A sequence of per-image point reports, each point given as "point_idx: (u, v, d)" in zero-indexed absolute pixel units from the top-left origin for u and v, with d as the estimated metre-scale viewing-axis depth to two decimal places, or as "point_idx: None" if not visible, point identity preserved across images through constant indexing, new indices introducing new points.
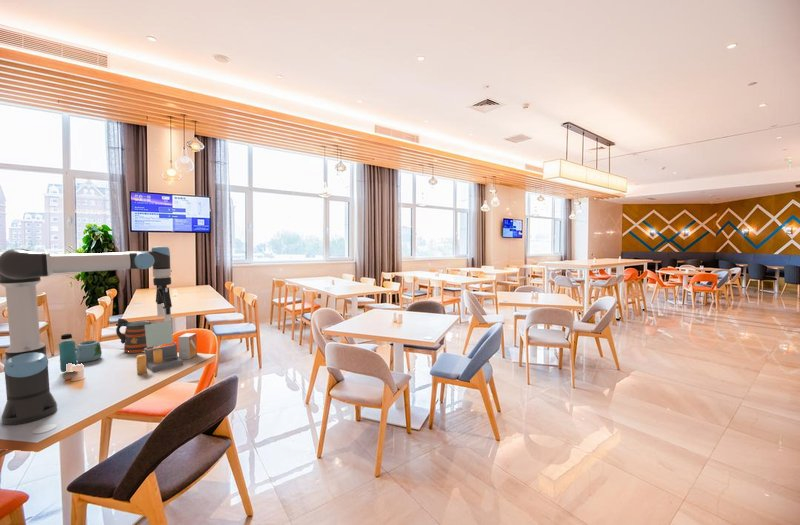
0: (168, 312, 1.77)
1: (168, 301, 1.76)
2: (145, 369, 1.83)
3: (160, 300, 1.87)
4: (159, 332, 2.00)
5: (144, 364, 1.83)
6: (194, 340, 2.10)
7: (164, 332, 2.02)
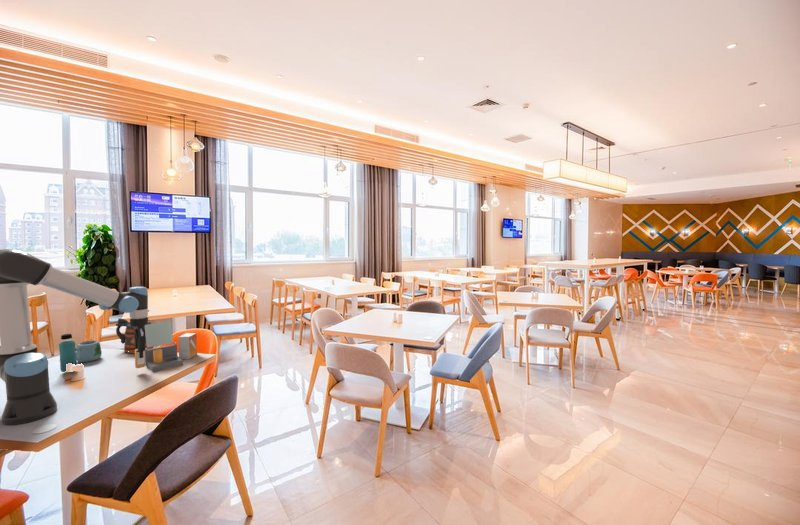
0: (141, 356, 1.81)
1: (142, 346, 1.79)
2: None
3: None
4: (159, 332, 2.00)
5: None
6: (194, 340, 2.10)
7: (164, 332, 2.02)
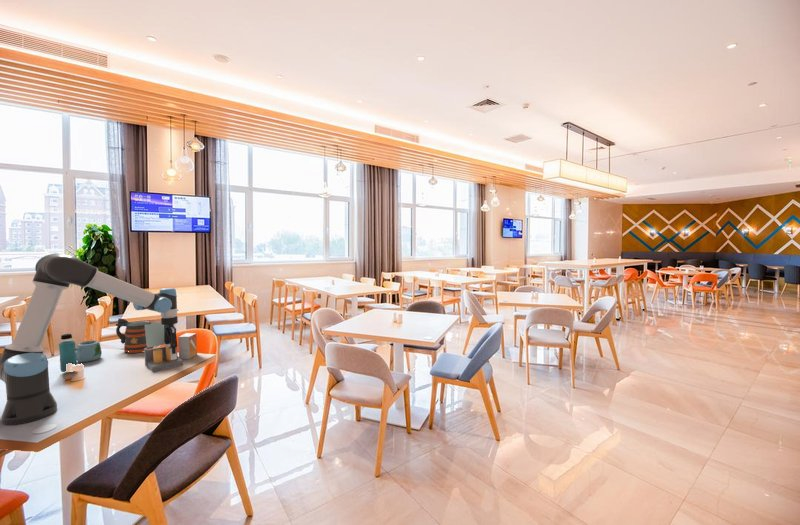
0: (174, 352, 1.92)
1: (174, 342, 1.90)
2: None
3: (168, 339, 1.98)
4: (159, 332, 2.00)
5: None
6: (194, 340, 2.10)
7: None
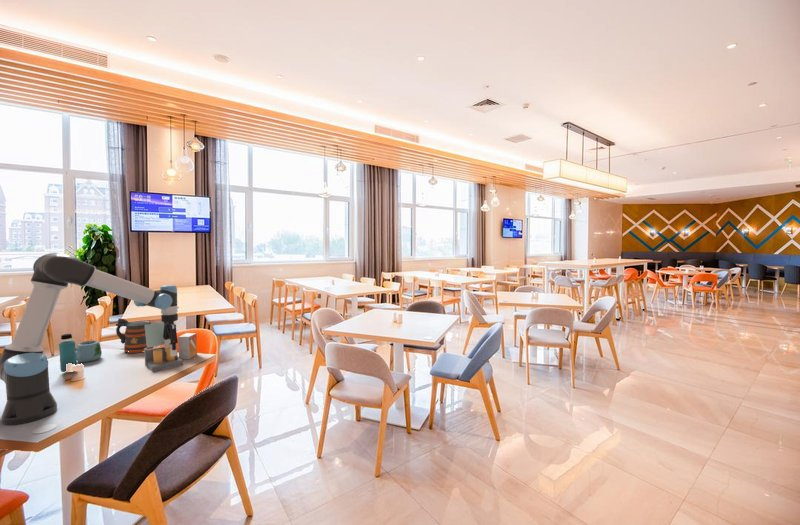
0: (174, 348, 1.90)
1: (174, 338, 1.89)
2: None
3: (167, 335, 1.99)
4: (159, 332, 2.00)
5: (173, 356, 1.96)
6: (194, 340, 2.10)
7: None
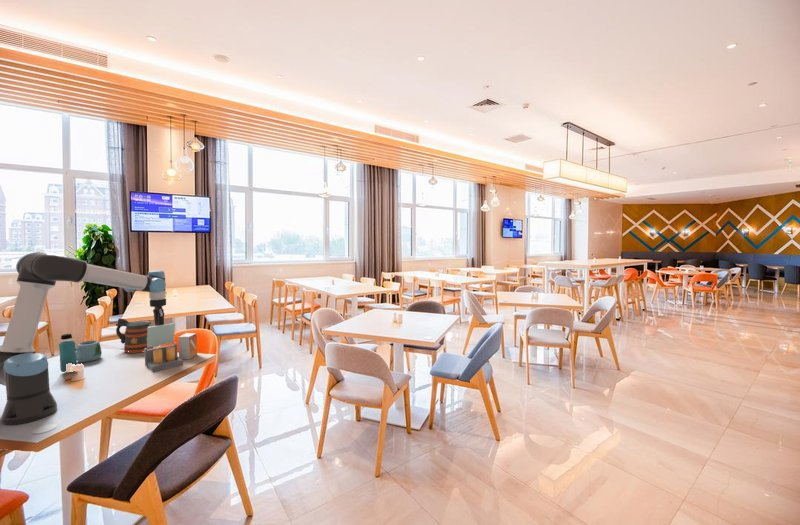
0: None
1: (161, 324, 1.96)
2: None
3: None
4: (161, 334, 1.97)
5: (173, 356, 1.96)
6: (194, 340, 2.10)
7: (166, 334, 1.99)
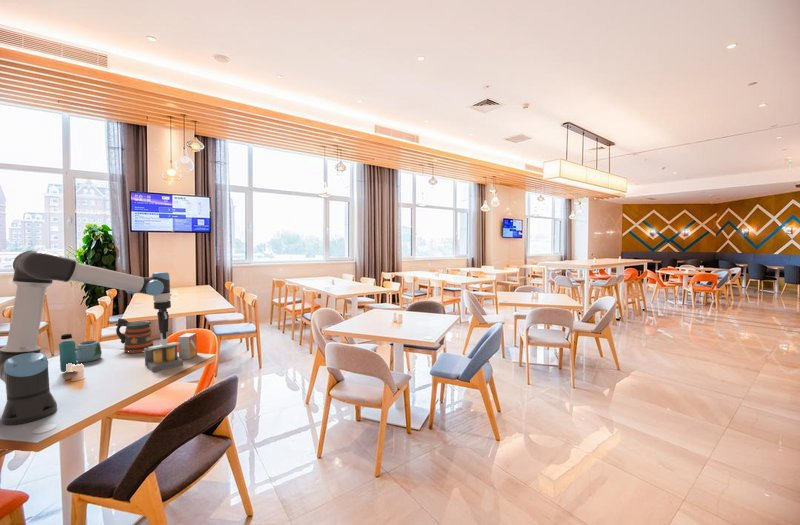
0: (165, 337, 1.92)
1: (165, 327, 1.90)
2: None
3: None
4: None
5: (173, 356, 1.96)
6: (194, 340, 2.10)
7: None
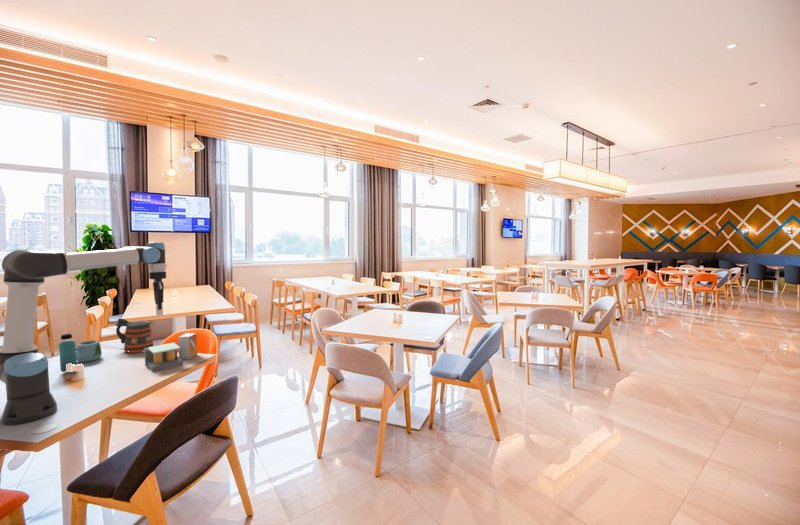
0: (160, 307, 1.91)
1: (160, 298, 1.88)
2: None
3: None
4: None
5: (173, 356, 1.96)
6: (194, 340, 2.10)
7: None
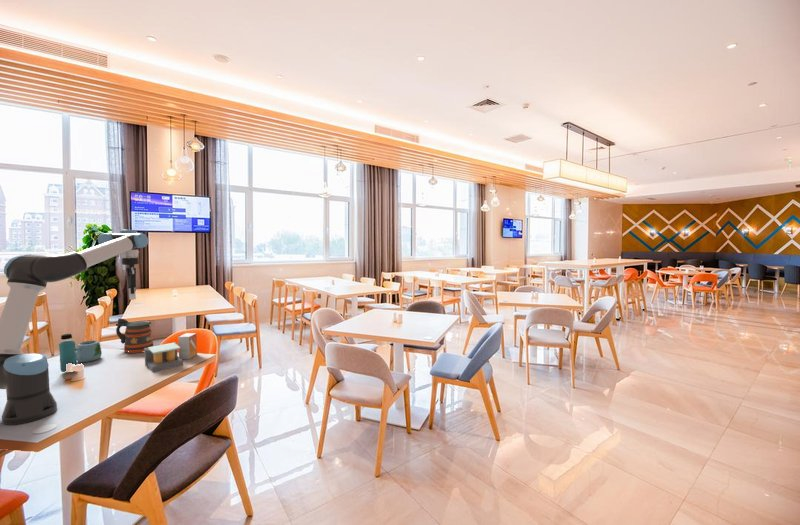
0: (133, 292, 2.00)
1: (133, 282, 1.98)
2: None
3: None
4: None
5: (173, 356, 1.96)
6: (194, 340, 2.10)
7: None
